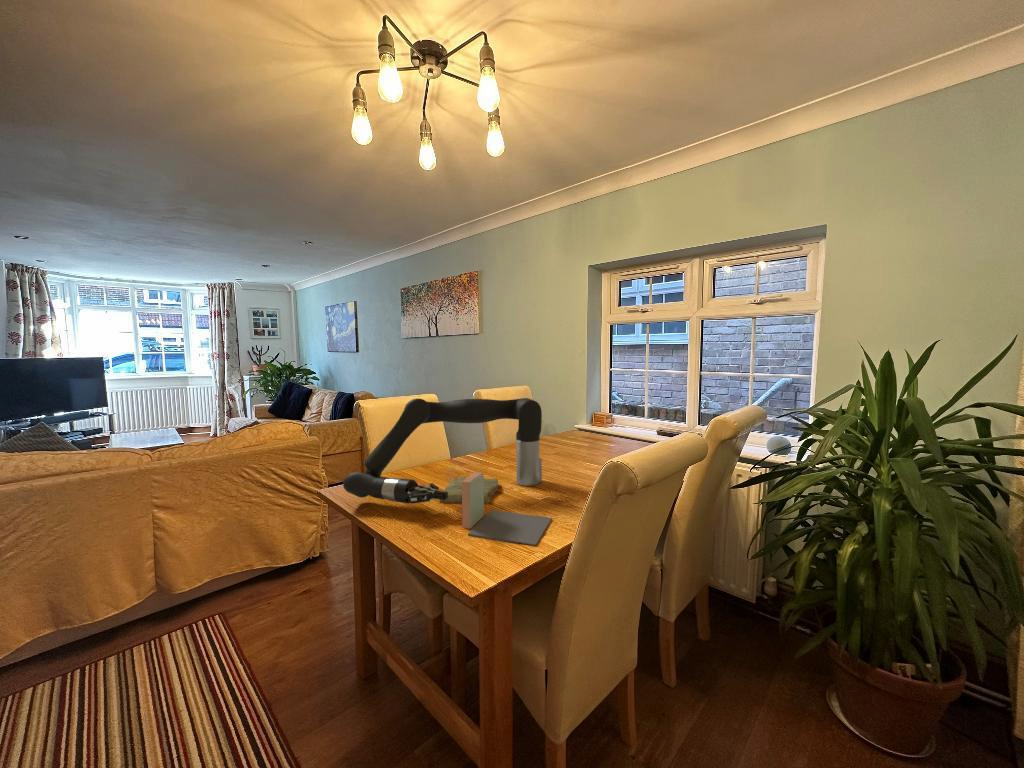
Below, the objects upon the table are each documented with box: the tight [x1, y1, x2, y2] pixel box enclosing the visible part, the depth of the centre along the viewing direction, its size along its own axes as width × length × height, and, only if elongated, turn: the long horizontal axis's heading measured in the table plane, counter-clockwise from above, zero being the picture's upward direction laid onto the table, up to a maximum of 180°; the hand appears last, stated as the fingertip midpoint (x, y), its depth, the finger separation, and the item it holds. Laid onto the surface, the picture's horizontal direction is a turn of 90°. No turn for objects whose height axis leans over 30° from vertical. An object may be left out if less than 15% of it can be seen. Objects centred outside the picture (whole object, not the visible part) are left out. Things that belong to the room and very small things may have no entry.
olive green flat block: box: [439, 476, 500, 504], centre depth 148 cm, size 19×20×4 cm
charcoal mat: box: [467, 509, 553, 547], centre depth 119 cm, size 20×18×1 cm
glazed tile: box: [461, 471, 485, 530], centre depth 123 cm, size 3×10×14 cm, turn 160°
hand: (446, 495), depth 126 cm, fingers closed
